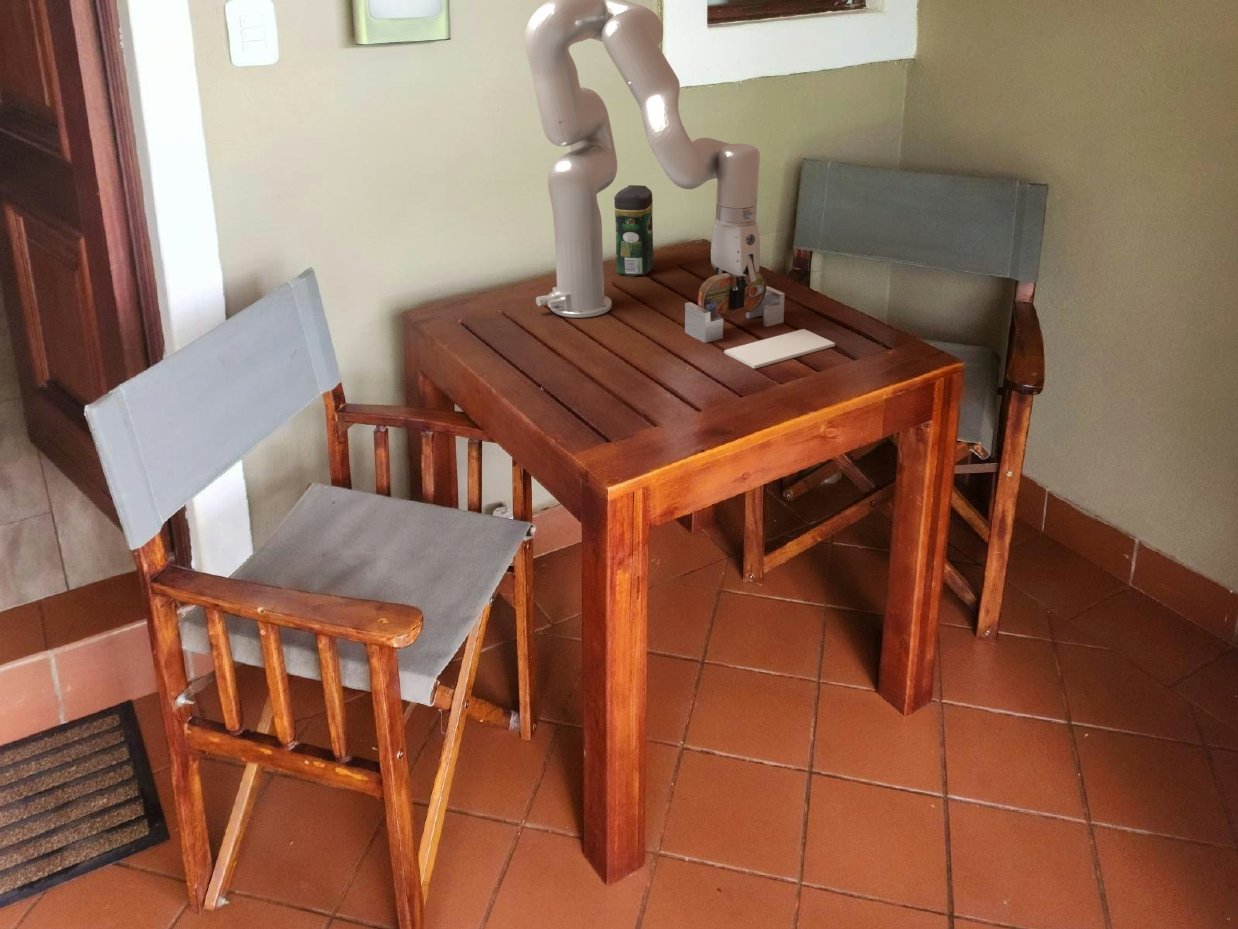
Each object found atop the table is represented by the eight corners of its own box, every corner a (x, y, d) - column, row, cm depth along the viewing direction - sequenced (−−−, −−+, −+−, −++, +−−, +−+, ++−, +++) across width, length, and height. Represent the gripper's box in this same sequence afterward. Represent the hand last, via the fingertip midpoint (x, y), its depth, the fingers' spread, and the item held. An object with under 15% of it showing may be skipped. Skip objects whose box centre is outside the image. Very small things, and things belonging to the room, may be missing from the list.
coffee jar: (622, 262, 267) (621, 181, 259) (656, 264, 265) (656, 183, 257) (611, 276, 259) (609, 192, 250) (646, 278, 257) (645, 194, 249)
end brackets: (783, 322, 232) (784, 293, 229) (704, 342, 223) (705, 313, 220) (762, 312, 237) (763, 284, 234) (685, 332, 228) (685, 303, 225)
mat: (754, 368, 211) (754, 365, 211) (724, 353, 218) (724, 350, 218) (834, 346, 220) (834, 343, 220) (803, 331, 227) (803, 328, 227)
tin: (703, 323, 224) (706, 282, 220) (693, 317, 227) (696, 276, 222) (765, 309, 231) (769, 268, 227) (755, 303, 234) (759, 263, 229)
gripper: (779, 220, 215) (772, 315, 224) (726, 199, 227) (722, 290, 236) (746, 226, 212) (741, 322, 220) (694, 205, 224) (691, 296, 232)
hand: (731, 304), depth 228 cm, fingers closed on tin, 2 cm apart
